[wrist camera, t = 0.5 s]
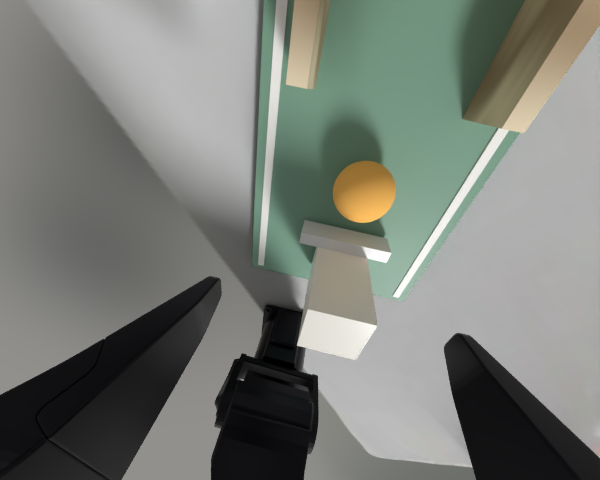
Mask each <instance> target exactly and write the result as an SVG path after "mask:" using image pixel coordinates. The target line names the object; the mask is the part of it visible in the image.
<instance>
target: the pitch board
mask: <svg viewBox="0 0 600 480" xmlns="http://www.w3.org/2000/svg"><path fill="white" fill-rule="evenodd" d="M524 1H525V0H330V6H329V12H328V18H327V24H326V30H325V35H324V41H323V47H322V53H321V59H320V65H319V71H318V77H317V83H316V88H315V89H305V88H300V87H295V86H290V85H286V78H287V68H288V59H289V49H290V39H291V30H292V20H293V10H294V0H264V8H263V29H262V51H261V73H260V94H259V116H258V138H257V159H256V181H255V202H254V224H253V246H252V266H254V267H258V268H262V269H266V270H271V271H275V272H279V273H283V274H288V275H292V276H296V277H300V278H305V279H309V275H310V269H311V265H312V261H313V257H314V253H315V250H316V247H315V246H311V245H306V244H302V243H299V241H300V236H301V232H302V228H303V225H304V221H305V220H308V221H312V222H316V223H321V224H325V225H330V226H334V227H339V228H343V229H347V230H352V231H356V232H361V233H365V234H369V235H374V236H378V237H383V238H387V240H388V243H389V246H390V250H391V255H390V257H389V259H388V261H387V263H384V262H380V261H376V260H371V259H368V266H369V272H370V279H371V286H372V293H373V295H377V296H381V297H385V298H389V299H393V300H398V301H402V302H403V301H404V300H405V298H406V297H407V295H408V294H409V293H410V291H411V290H412V288H413V287H414V285H415V284H416V282H417V281H418V280H419V278H420V277H421V275H422V274H423V272H424V271H425V269H426V268H427V266H428V265H429V264H430V262H431V261H432V259H433V258H434V256H435V255H436V253H437V252H438V251H439V249H440V248H441V246H442V245H443V243H444V242H445V240H446V239H447V237H448V236H449V235H450V233H451V232H452V230H453V229H454V227H455V226H456V224H457V223H458V222H459V220H460V219H461V217H462V216H463V214H464V213H465V211H466V210H467V209H468V207H469V206H470V204H471V203H472V201H473V200H474V198H475V197H476V195H477V194H478V193H479V191H480V190H481V188H482V187H483V185H484V184H485V182H486V181H487V180H488V178H489V177H490V175H491V174H492V172H493V171H494V169H495V168H496V166H497V165H498V164H499V162H500V161H501V159H502V158H503V156H504V155H505V153H506V152H507V151H508V149H509V148H510V146H511V145H512V143H513V142H514V140H515V139H516V137H517V136H518V135H519V133H520V132H515V131H510V130H505V129H501V128H497V127H492V126H488V125H484V124H480V123H476V122H472V121H468V120H464V119H462V118H463V116H464V114H465V112H466V110H467V109H468V107H469V105H470V103H471V101H472V99H473V97H474V95H475V94H476V92H477V90H478V88H479V86H480V84H481V82H482V80H483V78H484V77H485V75H486V73H487V71H488V69H489V67H490V65H491V63H492V61H493V60H494V58H495V56H496V54H497V52H498V50H499V48H500V46H501V44H502V43H503V41H504V39H505V37H506V35H507V33H508V31H509V29H510V27H511V26H512V24H513V22H514V20H515V18H516V16H517V14H518V12H519V10H520V9H521V7H522V5H523V3H524ZM359 161H373V162H377V163H379V164H381V165H383V166H384V167H385V168H387V169H388V170H389V172H390V173H391V174H392V176H393V178H394V181H395V185H396V195H395V199H394V202H393V204H392V206H391V208H390V209H389V210H388V211H387V212H386V213H385V214H384V215H383V216H382V217H380V218H379V219H377V220H374V221H371V222H367V223H358V222H354V221H351V220H349V219H347V218H345V217H344V216H343V215H342V214H341V213H340V212H339V211H338V210H337V208H336V206H335V204H334V200H333V187H334V184H335V181H336V179H337V177H338V176H339V174H340V173H341V172H342V171H343V170H344V169H345V168H346V167H348V166H349V165H351V164H353V163H356V162H359Z"/></svg>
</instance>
